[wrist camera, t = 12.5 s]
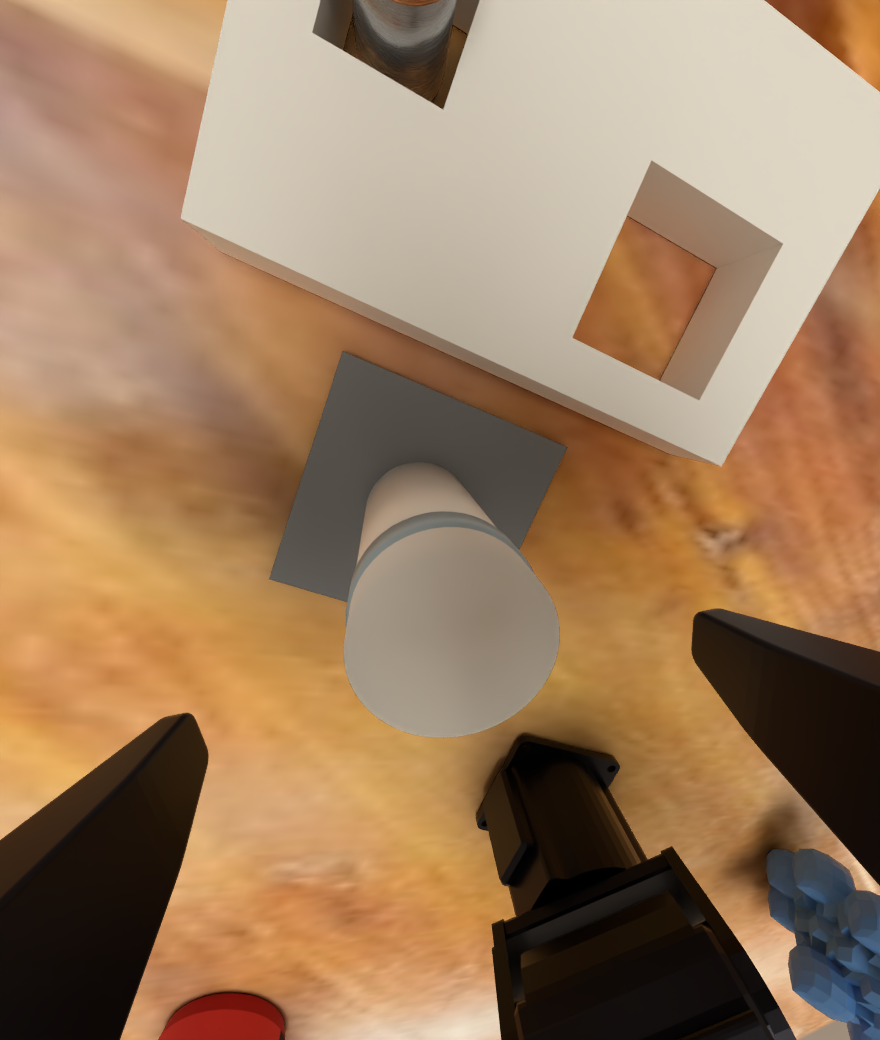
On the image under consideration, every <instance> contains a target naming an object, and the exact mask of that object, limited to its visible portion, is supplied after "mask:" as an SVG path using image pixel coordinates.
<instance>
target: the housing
mask: <svg viewBox="0 0 880 1040" xmlns="http://www.w3.org/2000/svg"><path fill="white" fill-rule="evenodd" d="M352 15H353V4H352V0H228V1H227V6H226V10H225V15H224V19H223V24H222V29H221V33H220V38H219V43H218V47H217V52H216V57H215V61H214V66H213V70H212V75H211V80H210V84H209V89H208V94H207V98H206V103H205V108H204V112H203V117H202V121H201V126H200V131H199V135H198V140H197V145H196V149H195V154H194V159H193V163H192V168H191V173H190V177H189V182H188V186H187V191H186V196H185V200H184V205H183V210H182V214H181V219H182V220H183V221H184V222H185V223H186V224H188V225H189V226H190V227H191V228H192V229H194V230H195V231H196V232H197V233H199V234H200V235H201V236H202V237H203V238H205V239H206V240H207V241H208V242H209V243H211V244H212V245H213V246H214V247H215V248H217V249H218V250H219V251H220V252H222V253H224V254H227V255H229V256H231V257H233V258H236V259H238V260H240V261H242V262H244V263H247V264H249V265H251V266H253V267H256V268H258V269H260V270H262V271H264V272H267V273H269V274H271V275H273V276H275V277H278V278H280V279H282V280H284V281H287V282H289V283H291V284H293V285H295V286H298V287H300V288H302V289H304V290H307V291H309V292H311V293H313V294H315V295H318V296H320V297H322V298H324V299H327V300H329V301H331V302H333V303H335V304H338V305H340V306H342V307H344V308H347V309H349V310H351V311H353V312H355V313H358V314H360V315H362V316H364V317H367V318H369V319H371V320H373V321H375V322H378V323H380V324H382V325H384V326H386V327H389V328H391V329H393V330H395V331H398V332H400V333H402V334H404V335H406V336H409V337H411V338H413V339H415V340H418V341H420V342H422V343H424V344H426V345H429V346H431V347H433V348H435V349H438V350H440V351H442V352H444V353H446V354H449V355H451V356H453V357H455V358H458V359H460V360H462V361H464V362H466V363H469V364H471V365H473V366H475V367H477V368H480V369H482V370H484V371H486V372H489V373H491V374H493V375H495V376H497V377H500V378H502V379H504V380H506V381H509V382H511V383H513V384H515V385H517V386H520V387H522V388H524V389H526V390H529V391H531V392H533V393H535V394H537V395H540V396H542V397H544V398H546V399H549V400H551V401H553V402H555V403H557V404H560V405H562V406H564V407H566V408H569V409H571V410H573V411H575V412H577V413H580V414H582V415H584V416H586V417H588V418H591V419H593V420H595V421H597V422H600V423H602V424H604V425H606V426H608V427H611V428H613V429H615V430H617V431H620V432H622V433H624V434H626V435H628V436H631V437H633V438H635V439H637V440H640V441H642V442H644V443H646V444H648V445H651V446H653V447H655V448H657V449H660V450H662V451H664V452H666V453H668V454H671V455H674V456H678V457H683V458H687V459H692V460H696V461H700V462H705V463H709V464H714V465H718V466H722V464H723V462H724V461H725V459H726V457H727V455H728V454H729V452H730V450H731V448H732V447H733V445H734V443H735V441H736V440H737V438H738V436H739V434H740V433H741V431H742V429H743V427H744V426H745V424H746V422H747V420H748V419H749V417H750V415H751V413H752V412H753V410H754V408H755V406H756V405H757V403H758V401H759V399H760V397H761V396H762V394H763V392H764V390H765V389H766V387H767V385H768V383H769V382H770V380H771V378H772V376H773V375H774V373H775V371H776V369H777V368H778V366H779V364H780V362H781V361H782V359H783V357H784V355H785V354H786V352H787V350H788V348H789V347H790V345H791V343H792V341H793V340H794V338H795V336H796V334H797V333H798V331H799V329H800V327H801V326H802V324H803V322H804V320H805V319H806V317H807V315H808V313H809V312H810V310H811V308H812V306H813V305H814V303H815V301H816V299H817V298H818V296H819V294H820V292H821V290H822V289H823V287H824V285H825V283H826V282H827V280H828V278H829V276H830V275H831V273H832V271H833V269H834V268H835V266H836V264H837V262H838V261H839V259H840V257H841V255H842V254H843V252H844V250H845V248H846V247H847V245H848V243H849V241H850V240H851V238H852V236H853V234H854V233H855V231H856V229H857V227H858V226H859V224H860V222H861V220H862V219H863V217H864V215H865V213H866V212H867V210H868V208H869V206H870V205H871V203H872V201H873V199H874V198H875V196H876V194H877V192H878V191H879V189H880V92H879V91H878V90H876V89H875V88H874V87H873V86H871V85H870V84H869V83H868V82H866V81H865V80H864V79H863V78H861V77H860V76H859V75H858V74H856V73H855V72H854V71H852V70H851V69H850V68H849V67H847V66H846V65H845V64H844V63H842V62H841V61H840V60H839V59H837V58H836V57H835V56H834V55H832V54H831V53H830V52H829V51H827V50H826V49H825V48H824V47H822V46H821V45H820V44H818V43H817V42H816V41H815V40H813V39H812V38H811V37H810V36H808V35H807V34H806V33H805V32H803V31H802V30H801V29H800V28H798V27H797V26H796V25H795V24H793V23H792V22H791V21H789V20H788V19H787V18H786V17H784V16H783V15H782V14H781V13H779V12H778V11H777V10H776V9H774V8H773V7H772V6H771V5H769V4H768V3H767V2H766V1H764V0H457V3H456V9H455V14H454V20H453V25H454V26H456V27H457V28H459V29H460V30H462V31H464V32H465V33H467V34H468V37H467V40H466V43H465V46H464V49H463V52H462V55H461V58H460V61H459V64H458V67H457V70H456V73H455V76H454V79H453V82H452V85H451V88H450V91H449V94H448V97H447V100H446V103H445V106H444V109H441V108H440V107H438V106H436V105H435V104H433V103H431V102H430V101H428V100H426V99H424V98H423V97H421V96H419V95H418V94H416V93H414V92H413V91H411V90H409V89H407V88H406V87H404V86H402V85H401V84H399V83H397V82H396V81H394V80H392V79H390V78H389V77H387V76H385V75H384V74H382V73H380V72H379V71H377V70H375V69H373V68H372V67H370V66H368V65H367V64H365V63H363V62H362V61H360V60H358V59H356V58H355V57H353V56H351V55H350V54H348V53H346V52H344V51H343V47H344V44H345V40H346V36H347V33H348V29H349V26H350V22H351V18H352ZM626 216H629V217H631V218H632V219H634V220H636V221H637V222H639V223H641V224H642V225H644V226H646V227H648V228H649V229H651V230H653V231H654V232H656V233H658V234H659V235H661V236H663V237H665V238H666V239H668V240H670V241H671V242H673V243H675V244H676V245H678V246H680V247H682V248H683V249H685V250H687V251H688V252H690V253H692V254H693V255H695V256H697V257H699V258H700V259H702V260H704V261H705V262H707V263H709V264H710V265H712V266H714V267H715V268H717V269H716V271H715V273H714V275H713V277H712V279H711V281H710V283H709V285H708V287H707V289H706V291H705V293H704V295H703V297H702V299H701V301H700V303H699V305H698V307H697V309H696V311H695V312H694V314H693V316H692V318H691V320H690V322H689V324H688V326H687V328H686V330H685V332H684V334H683V336H682V338H681V340H680V342H679V344H678V346H677V348H676V350H675V352H674V354H673V356H672V358H671V360H670V362H669V364H668V366H667V368H666V370H665V372H664V374H663V376H662V378H661V379H660V381H659V380H657V379H655V378H653V377H651V376H649V375H647V374H645V373H643V372H640V371H638V370H636V369H634V368H632V367H630V366H628V365H626V364H624V363H622V362H620V361H618V360H616V359H614V358H612V357H610V356H608V355H606V354H604V353H602V352H600V351H598V350H596V349H594V348H592V347H590V346H588V345H586V344H584V343H582V342H580V341H578V340H576V339H574V338H572V337H573V335H574V333H575V330H576V328H577V326H578V324H579V322H580V319H581V317H582V315H583V313H584V310H585V308H586V306H587V304H588V301H589V299H590V297H591V295H592V292H593V290H594V288H595V286H596V283H597V281H598V279H599V277H600V275H601V272H602V270H603V268H604V266H605V263H606V261H607V259H608V257H609V254H610V252H611V250H612V248H613V245H614V243H615V241H616V239H617V236H618V234H619V232H620V230H621V228H622V225H623V223H624V221H625V219H626Z"/></svg>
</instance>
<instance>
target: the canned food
mask: <svg viewBox="0 0 880 1040" xmlns="http://www.w3.org/2000/svg"><path fill="white" fill-rule="evenodd" d="M159 1040H285V1029H284V1020H283V1017H282V1015H281V1013H280V1012H279V1011H278V1010H277V1009H276V1008H275V1007H274V1005H272V1004H271V1003H269V1002H268V1001H266V1000H264V999H261V998H259V997H256V996H252V995H249V994H242V993H221V994H213V995H209V996H205V997H202V998H199V999H197V1000H194V1001H192V1002H190V1003H189V1004H187V1005H185V1006H183V1007H182V1008H181V1009H180V1010H178V1011H177V1012H176V1013H175V1014H174V1015H173V1016H172V1018H171V1019H170V1020H169V1022H168V1024H167V1025H166V1027H165V1029H164V1031H163V1032H162V1034H161V1036H160V1037H159Z"/></svg>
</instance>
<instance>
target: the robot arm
mask: <svg viewBox="0 0 880 1040" xmlns="http://www.w3.org/2000/svg"><path fill="white" fill-rule="evenodd" d="M691 650H692V656H693V659H694V661H695V663H696V664H697V666H698V667H699V669H700V670H701V671H702V673H703V674H704V675H705V677H706V678H707V679H708V681H709V682H710V684H711V685H712V686H713V688H714V689H715V690H716V692H717V693H718V694H719V696H720V697H721V699H722V700H723V701H724V703H725V704H726V705H727V707H728V708H729V709H730V711H731V712H732V713H733V715H734V716H735V718H736V719H737V720H738V722H739V723H740V724H741V726H742V727H743V728H744V730H745V731H746V732H747V733H748V735H749V736H750V737H751V739H752V740H753V741H754V742H755V744H756V745H757V746H758V747H759V748H760V749H761V751H762V752H763V753H764V754H765V755H766V756H767V758H768V759H769V760H770V761H771V762H772V763H773V764H774V766H775V767H776V768H777V769H778V770H779V771H780V772H781V774H782V775H783V776H784V777H785V778H786V779H787V780H788V782H789V783H790V784H791V785H792V786H793V787H794V788H795V790H796V791H797V792H798V793H799V794H800V795H801V796H802V798H803V799H804V800H805V801H806V802H807V803H808V804H809V806H810V807H811V808H812V809H813V810H814V811H815V812H816V814H817V815H818V816H819V817H820V818H821V819H822V820H823V822H824V823H825V824H826V825H827V826H828V827H829V828H830V830H831V831H832V832H833V833H834V834H835V835H836V836H837V838H838V839H839V840H840V841H841V842H842V843H843V844H844V846H845V847H846V848H847V849H848V850H849V851H850V852H851V854H852V855H853V856H854V857H855V858H856V859H857V860H858V862H859V863H860V864H861V865H862V866H863V867H864V868H865V870H866V871H867V872H868V873H869V874H870V875H871V876H872V877H873V879H874V880H875V881H876V882H877V883H878V884H879V885H880V652H879V651H875V650H871V649H867V648H864V647H860V646H856V645H853V644H849V643H845V642H842V641H838V640H834V639H831V638H827V637H823V636H820V635H816V634H812V633H809V632H805V631H801V630H797V629H794V628H790V627H786V626H783V625H779V624H775V623H772V622H768V621H764V620H761V619H757V618H753V617H750V616H746V615H742V614H739V613H735V612H731V611H727V610H724V609H711V610H706V611H701V612H698V613H697V614H696V615H695V616H694V619H693V632H692V648H691ZM525 745H527V746H525ZM524 746H525V747H524ZM207 765H208V749H207V746H206V744H205V741H204V739H203V736H202V734H201V732H200V729H199V727H198V724H197V722H196V719H195V718H194V716H193V715H192V714H190V713H182V714H177V715H172V716H167V717H164V718H162V719H160V720H159V721H157V722H156V723H155V724H154V725H152V726H151V727H150V728H148V729H147V730H146V731H144V732H143V733H142V734H140V735H139V736H138V737H136V738H135V739H134V740H132V741H131V742H130V743H128V744H127V745H126V746H124V747H123V748H122V749H120V750H119V751H118V752H116V753H115V754H114V755H112V756H111V757H110V758H108V759H107V760H106V761H104V762H103V763H102V764H100V765H99V766H98V767H97V768H95V769H94V770H93V771H91V772H90V773H89V774H87V775H86V776H85V777H83V778H82V779H81V780H79V781H78V782H77V783H75V784H74V785H73V786H71V787H70V788H69V789H67V790H66V791H65V792H63V793H62V794H61V795H59V796H58V797H57V798H55V799H54V800H53V801H51V802H50V803H49V804H47V805H46V806H45V807H44V808H42V809H41V810H40V811H38V812H37V813H36V814H34V815H33V816H32V817H30V818H29V819H28V820H26V821H25V822H24V823H22V824H21V825H20V826H18V827H17V828H16V829H14V830H13V831H12V832H10V833H9V834H8V835H6V836H5V837H4V838H2V839H1V840H0V1040H120V1038H121V1035H122V1032H123V1030H124V1027H125V1024H126V1021H127V1018H128V1016H129V1013H130V1010H131V1007H132V1004H133V1001H134V999H135V996H136V993H137V990H138V987H139V985H140V982H141V979H142V976H143V973H144V970H145V968H146V965H147V962H148V959H149V956H150V954H151V951H152V948H153V945H154V942H155V940H156V937H157V934H158V931H159V928H160V925H161V923H162V920H163V917H164V914H165V911H166V909H167V906H168V903H169V900H170V897H171V894H172V892H173V889H174V886H175V883H176V880H177V877H178V874H179V871H180V868H181V865H182V861H183V858H184V854H185V851H186V847H187V843H188V839H189V835H190V832H191V828H192V824H193V820H194V816H195V812H196V808H197V804H198V801H199V797H200V793H201V789H202V785H203V781H204V777H205V773H206V770H207ZM619 769H620V765H619V764H618V762H617V761H616V759H615V758H614V757H612V756H609V755H605V754H600V753H596V752H592V751H588V750H584V749H580V748H576V747H572V746H568V745H564V744H560V743H556V742H552V741H547V740H543V739H539V738H535V737H531V736H521V737H520V738H518V739H517V741H516V742H515V744H514V746H513V748H512V750H511V752H510V754H509V755H508V757H507V759H506V761H505V763H504V765H503V767H502V769H501V770H500V771H499V773H498V775H497V777H496V778H495V780H494V782H493V784H492V786H491V788H490V790H489V791H488V793H487V795H486V797H485V799H484V801H483V803H482V806H481V808H480V810H479V811H478V813H477V815H476V821H477V825H478V828H479V829H482V830H486V831H489V836H490V840H491V844H492V849H493V853H494V857H495V862H496V866H497V870H498V875H499V879H500V881H501V883H502V885H504V886H509V890H510V894H511V898H512V902H513V906H514V911H515V915H516V917H514V918H511V919H509V920H507V921H504V919H502V920H500V921H497V922H495V923H493V924H492V931H493V940H494V947H493V948H492V954H493V964H494V973H495V983H496V993H497V1002H498V1012H499V1021H500V1031H501V1040H796V1038H795V1036H794V1034H793V1032H792V1030H791V1028H790V1026H789V1024H788V1022H787V1021H786V1019H785V1017H784V1015H783V1013H782V1011H781V1010H780V1008H779V1006H778V1004H777V1003H776V1001H775V999H774V997H773V996H772V994H771V992H770V990H769V989H768V987H767V985H766V984H765V982H764V980H763V979H762V977H761V975H760V974H759V972H758V970H757V969H756V967H755V966H754V964H753V962H752V961H751V959H750V958H749V956H748V955H747V953H746V951H745V950H744V948H743V947H742V945H741V944H740V943H739V941H738V940H737V938H736V937H735V935H734V934H733V932H732V931H731V930H730V928H729V927H728V925H727V924H726V922H725V921H724V920H723V918H722V917H721V915H720V914H719V912H718V911H717V910H716V908H715V907H714V905H713V904H712V903H711V901H710V900H709V898H708V897H707V895H706V894H705V893H704V891H703V890H702V888H701V887H700V886H699V884H698V883H697V881H696V880H695V878H694V877H693V876H692V874H691V873H690V871H689V870H688V869H687V867H686V866H685V864H684V863H683V861H682V860H681V859H680V857H679V856H678V854H677V853H676V851H675V850H674V849H673V847H672V846H671V847H669V848H667V849H665V850H662V851H661V854H660V855H658V856H655V857H653V858H651V859H647V858H646V856H645V854H644V852H643V850H642V849H641V847H640V845H639V843H638V841H637V840H636V838H635V836H634V834H633V832H632V831H631V829H630V827H629V825H628V823H627V822H626V820H625V818H624V816H623V814H622V813H621V811H620V809H619V807H618V805H617V803H616V802H615V800H614V798H613V796H612V794H611V793H610V791H609V789H608V787H609V785H610V784H611V782H612V781H613V779H614V777H615V776H616V774H617V773H618V771H619Z"/></svg>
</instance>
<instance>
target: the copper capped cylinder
mask: <svg viewBox="0 0 880 1040" xmlns="http://www.w3.org/2000/svg"><path fill="white" fill-rule="evenodd" d="M456 3H457V0H352V4H353V15H354V26H355V37H356V48H357V59H358V60H360V61H362V62H363V63H365V64H367V65H368V66H370V67H372V68H373V69H375V70H377V71H379V72H380V73H382V74H384V75H385V76H387V77H389V78H390V79H392V80H394V81H396V82H397V83H399V84H401V85H402V86H404V87H406V88H407V89H409V90H411V91H413V92H414V93H416V94H418V95H419V96H421V97H423V98H424V99H426V100H428V101H430V102H431V101H432V100H433V99H434V97H435V96H436V94H437V92H438V91H439V89H440V86H441V83H442V80H443V76H444V70H445V65H446V59H447V54H448V48H449V42H450V37H451V31H452V26H453V20H454V14H455V9H456Z"/></svg>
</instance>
